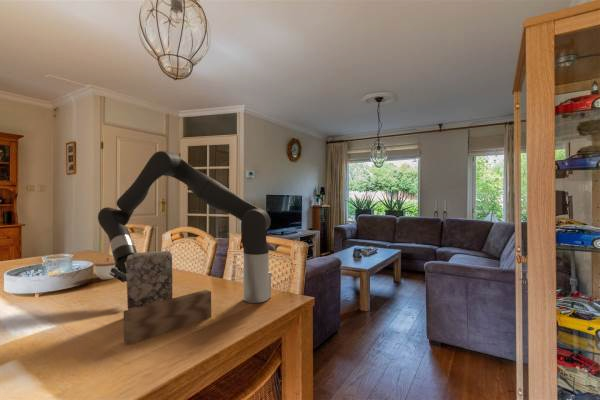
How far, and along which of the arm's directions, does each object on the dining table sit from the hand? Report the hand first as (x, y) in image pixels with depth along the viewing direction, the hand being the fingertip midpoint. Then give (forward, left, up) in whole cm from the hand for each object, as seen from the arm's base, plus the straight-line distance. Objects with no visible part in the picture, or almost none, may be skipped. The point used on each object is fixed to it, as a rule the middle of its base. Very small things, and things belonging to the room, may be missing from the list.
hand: (136, 289), depth 104 cm
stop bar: (0, +27, -6) cm, 27 cm away
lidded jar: (-5, -50, -6) cm, 50 cm away
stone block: (0, +12, -6) cm, 14 cm away
